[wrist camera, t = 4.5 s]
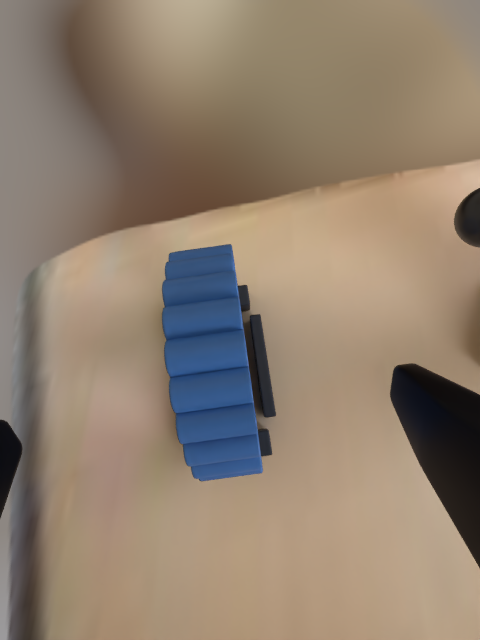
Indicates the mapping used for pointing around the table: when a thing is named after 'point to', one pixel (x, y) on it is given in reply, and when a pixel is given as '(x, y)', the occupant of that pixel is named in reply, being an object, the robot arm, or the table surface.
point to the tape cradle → (260, 370)
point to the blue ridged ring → (209, 364)
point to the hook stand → (469, 219)
